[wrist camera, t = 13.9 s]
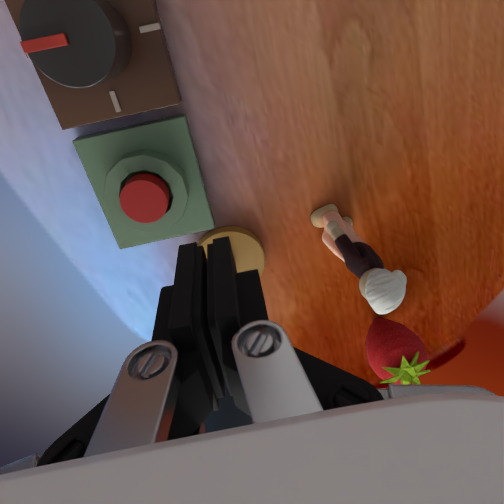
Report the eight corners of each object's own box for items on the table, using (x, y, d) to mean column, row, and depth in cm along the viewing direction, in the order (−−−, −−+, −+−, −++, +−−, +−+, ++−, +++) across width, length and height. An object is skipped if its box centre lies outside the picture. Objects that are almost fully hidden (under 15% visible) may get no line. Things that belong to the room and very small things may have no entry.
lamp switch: (117, 178, 28) (112, 185, 27) (161, 168, 28) (159, 175, 27) (133, 218, 30) (129, 227, 28) (175, 209, 30) (173, 218, 28)
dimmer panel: (1, -32, 23) (-17, -39, 21) (139, -63, 23) (133, -73, 21) (69, 125, 28) (60, 130, 26) (183, 100, 28) (181, 104, 26)
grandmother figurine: (293, 223, 35) (332, 304, 24) (316, 190, 33) (369, 261, 22) (352, 255, 37) (412, 342, 26) (376, 226, 36) (449, 305, 25)
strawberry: (366, 350, 45) (404, 423, 36) (340, 314, 41) (375, 385, 33) (409, 327, 44) (459, 397, 35) (385, 288, 40) (434, 354, 31)
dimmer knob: (116, -13, 23) (93, -28, 18) (142, 73, 25) (127, 79, 21) (39, 2, 23) (-4, -9, 18) (72, 87, 25) (42, 96, 21)
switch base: (76, 137, 29) (63, 146, 26) (185, 113, 29) (183, 120, 26) (122, 243, 34) (115, 259, 31) (214, 223, 34) (215, 237, 31)
